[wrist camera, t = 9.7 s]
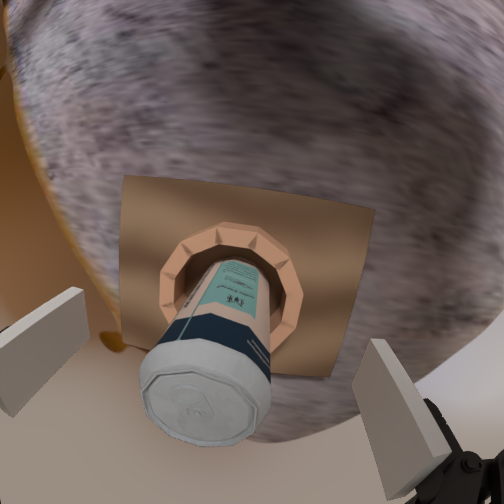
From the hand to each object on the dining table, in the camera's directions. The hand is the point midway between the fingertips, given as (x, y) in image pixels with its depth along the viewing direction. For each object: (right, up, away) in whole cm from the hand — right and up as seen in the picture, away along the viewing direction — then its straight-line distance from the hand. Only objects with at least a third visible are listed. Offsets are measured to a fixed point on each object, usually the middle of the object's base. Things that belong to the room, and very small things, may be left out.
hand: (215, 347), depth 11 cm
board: (0, +2, +9) cm, 10 cm away
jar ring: (0, +2, +8) cm, 8 cm away
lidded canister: (0, +2, +8) cm, 9 cm away
